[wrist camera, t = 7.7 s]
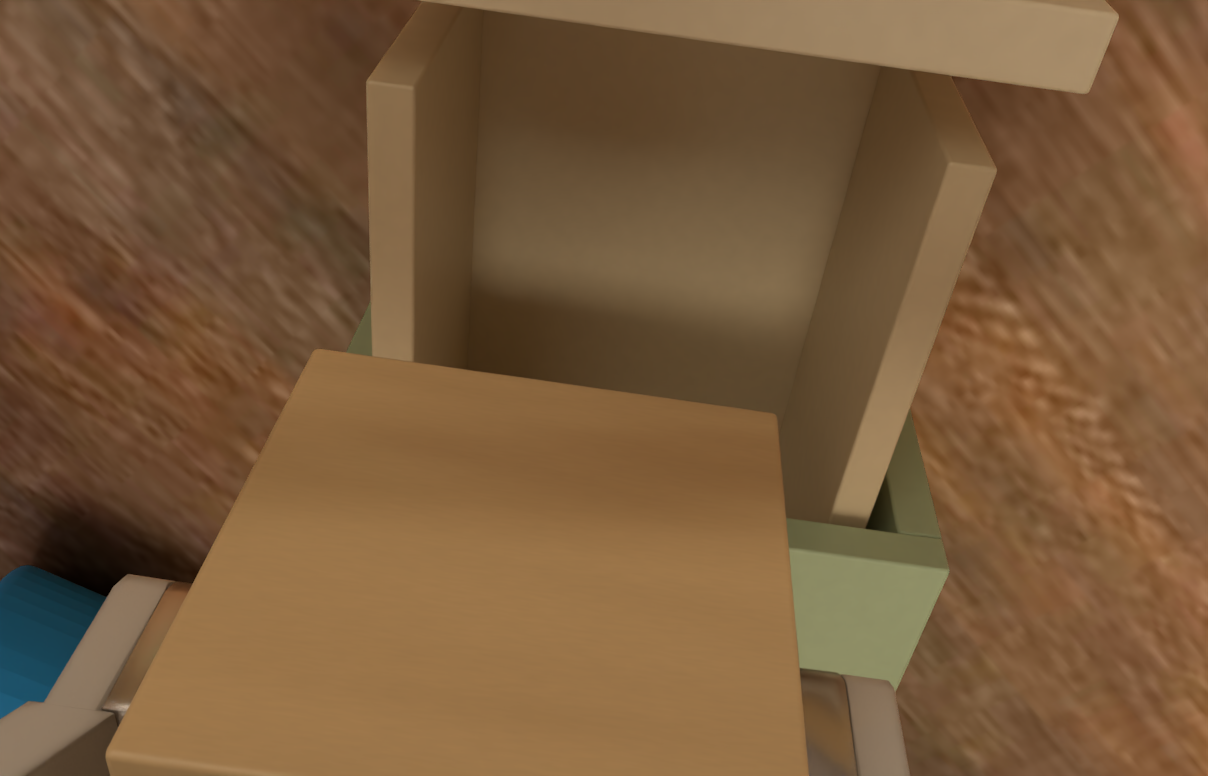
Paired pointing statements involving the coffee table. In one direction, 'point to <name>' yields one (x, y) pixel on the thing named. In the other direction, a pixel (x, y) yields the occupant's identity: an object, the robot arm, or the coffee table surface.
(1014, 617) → the coffee table surface
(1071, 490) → the coffee table surface
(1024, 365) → the coffee table surface
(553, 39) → the drawer
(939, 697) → the coffee table surface
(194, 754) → the block
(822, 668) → the cabinet
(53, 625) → the alarm clock
